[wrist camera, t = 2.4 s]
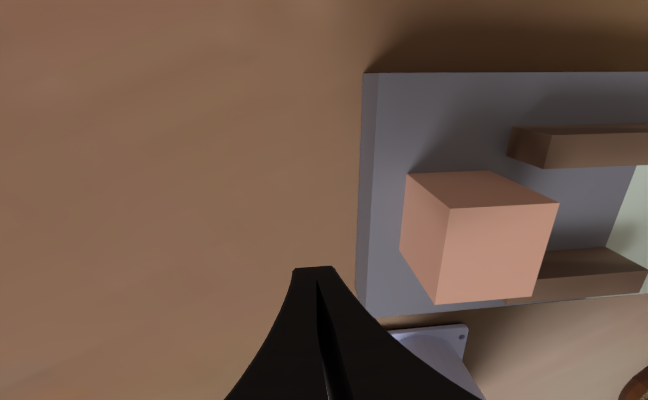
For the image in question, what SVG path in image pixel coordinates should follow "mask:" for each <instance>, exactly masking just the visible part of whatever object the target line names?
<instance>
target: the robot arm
mask: <svg viewBox="0 0 648 400" xmlns="http://www.w3.org/2000/svg"><path fill="white" fill-rule="evenodd" d="M468 332H469V329H468V328H467V326H466V325H465V324H454V325H444V326H433V327H423V328H412V329H402V330H391V331H387V330H386V329H385V328H384V327H382V326H381V325H380V324H379V323H378V322H377V320H376V319H375V318H374V317H373V316H372V315H371V314H370V313H369V312H368V311H367V310H366V309H365V308H364V307H363V305H362V304H361V303H360V302H359V301H358V300H357V298H356V297H355V296H354V295H353V294H352V292H351V291H350V290H349V289H348V287H347V286H346V285H345V283H344V282H343V280H342V279H341V278H340V276H339V275H338V273H337V272H336V270H335V268H333V267H332V266H319V267H305V268H295V269H294V270H293V271H292V279H291V283H290V286H289V289H288V292H287V295H286V298H285V300H284V302H283V305H282V307H281V310H280V312H279V314H278V316H277V318H276V320H275V322H274V324H273V326H272V328H271V330H270V332H269V334H268V336H267V338H266V339H265V341H264V343H263V345H262V346H261V348H260V350H259V351H258V353H257V354H256V356H255V358H254V359H253V361H252V362H251V364H250V365H249V366H248V368H247V369H246V371H245V372H244V374H243V375H242V377H241V378H240V379H239V381H238V382H237V384H236V385H235V386H234V388H233V389H232V390H231V392H230V393H229V394H228V395H227V397H226V398H225V399H224V400H328V396H329V400H486V399H485V397H484V396H483V394H482V392H481V391H480V389H479V388H478V386H477V384H476V383H475V381H474V379H473V378H472V376H471V375H470V373H469V371H468V370H467V368H466V367H465V365H464V363H463V362H462V359H463V354H464V350H465V345H466V341H467V336H468ZM325 382H326V383H325ZM326 387H327V389H326ZM327 392H328V394H327Z"/></svg>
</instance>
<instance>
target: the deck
mask: <svg viewBox="0 0 648 400" xmlns="http://www.w3.org/2000/svg"><path fill="white" fill-rule="evenodd" d="M629 123H648V72H471V73H363V91H362V116H361V142H360V168H359V193H358V219H357V245H356V270H355V290H356V293H357V296H358V299H359V302H360V303H361V304H362V305H363V307H364V308H365V309H366V310H367V311H368V312H369V313H370V314H371V315H372V316H373V317H374V318H381V317H392V316H403V315H414V314H425V313H436V312H447V311H458V310H469V309H480V308H491V307H502V306H513V305H525V304H536V303H547V302H558V301H569V300H580V299H591V298H602V297H613V296H624V295H635V294H646V293H648V275H647V277H646V279H645V281H644V283H643V285H642V288H641V290H640V292H639V293H631V294H620V295H609V296H598V297H587V298H576V299H564V300H553V301H542V302H531V303H520V304H509V305H506V304H505V303H504V302H503V301H502V300H501V299H496V300H485V301H474V302H462V303H451V304H439V305H434V303H433V302H432V300H431V299H430V297H429V295H428V294H427V292H426V291H425V289H424V288H423V286H422V285H421V283H420V282H419V280H418V279H417V277H416V275H415V274H414V272H413V271H412V269H411V268H410V266H409V265H408V263H407V262H406V260H405V259H404V257H403V256H402V254H401V252H400V251H399V246H400V236H401V225H402V215H403V205H404V195H405V185H406V175H407V174H411V173H436V172H461V171H485V170H490V171H492V172H494V173H496V174H498V175H501V176H503V177H505V178H507V179H509V180H511V181H514V182H516V183H518V184H520V185H522V186H524V187H527V188H529V189H531V190H533V191H535V192H537V193H540V194H542V195H544V196H546V197H548V198H550V199H553V200H555V201H557V202H559V203H560V204H559V207H558V211H557V214H556V217H555V221H554V224H553V227H552V230H551V234H550V237H549V240H548V244H547V247H546V250H545V251H553V250H567V249H581V248H595V247H607V248H609V249H611V250H612V251H614V252H616V253H618V254H620V255H622V256H624V257H626V258H627V259H629V260H631V261H633V262H635V263H637V264H639V265H641V266H642V267H644V268H646V269H648V165H636V166H611V167H587V168H563V169H541V168H538V167H535V166H533V165H530V164H527V163H524V162H521V161H519V160H516V159H513V158H510V157H508V156H506V153H507V148H508V144H509V139H510V135H511V130H512V126H548V125H589V124H629Z"/></svg>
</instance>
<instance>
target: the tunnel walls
mask: <svg viewBox="0 0 648 400" xmlns="http://www.w3.org/2000/svg"><path fill="white" fill-rule="evenodd" d="M506 156H508V157H510V158H513V159H516V160H519V161H521V162H524V163H527V164H530V165H533V166H535V167H538V168H541V169H563V168H587V167H611V166H636V165H648V123H629V124H589V125H548V126H512V130H511V135H510V139H509V144H508V148H507V153H506ZM647 275H648V269H646V268H644V267H642V266H641V265H639V264H637V263H635V262H633V261H631V260H629V259H627V258H626V257H624V256H622V255H620V254H618V253H616V252H614V251H612V250H611V249H609V248H607V247H595V248H581V249H567V250H553V251H545V253H544V257H543V260H542V263H541V267H540V270H539V273H538V276H537V280H536V283H535V286H534V290H533V293H532V296H531V297H519V298H508V299H501V300H502V301H503V302H504V303H505V304H506V305H509V304H520V303H531V302H542V301H553V300H564V299H576V298H587V297H598V296H609V295H620V294H631V293H639V292H640V290H641V288H642V285H643V283H644V281H645V279H646V277H647Z"/></svg>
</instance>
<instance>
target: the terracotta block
mask: <svg viewBox="0 0 648 400" xmlns="http://www.w3.org/2000/svg"><path fill="white" fill-rule="evenodd" d="M559 204H560V203H559V202H557V201H555V200H553V199H550V198H548V197H546V196H544V195H542V194H540V193H537V192H535V191H533V190H531V189H529V188H527V187H524V186H522V185H520V184H518V183H516V182H514V181H511V180H509V179H507V178H505V177H503V176H501V175H498V174H496V173H494V172H492V171H490V170H485V171H461V172H436V173H411V174H407V175H406V185H405V195H404V205H403V215H402V225H401V236H400V246H399V251H400V252H401V254H402V256H403V257H404V259H405V260H406V262H407V263H408V265H409V266H410V268H411V269H412V271H413V272H414V274H415V275H416V277H417V279H418V280H419V282H420V283H421V285H422V286H423V288H424V289H425V291H426V292H427V294H428V295H429V297H430V299H431V300H432V302H433V303H434V305H439V304H451V303H462V302H474V301H485V300H496V299H508V298H519V297H531V296H532V293H533V290H534V286H535V283H536V280H537V276H538V273H539V270H540V267H541V263H542V260H543V257H544V253H545V250H546V247H547V244H548V240H549V237H550V234H551V230H552V227H553V224H554V221H555V217H556V214H557V211H558V207H559Z"/></svg>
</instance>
